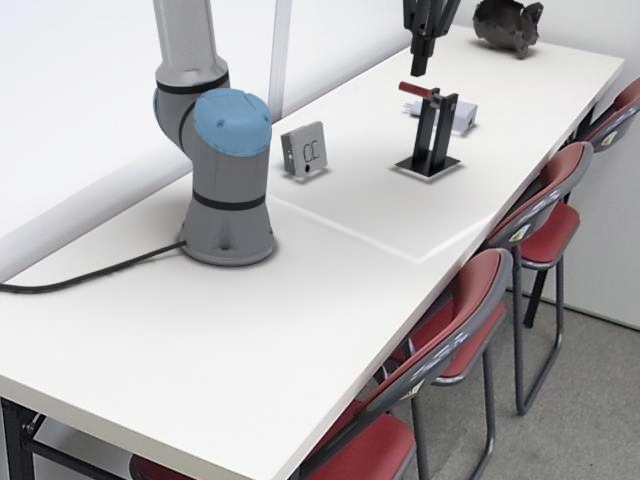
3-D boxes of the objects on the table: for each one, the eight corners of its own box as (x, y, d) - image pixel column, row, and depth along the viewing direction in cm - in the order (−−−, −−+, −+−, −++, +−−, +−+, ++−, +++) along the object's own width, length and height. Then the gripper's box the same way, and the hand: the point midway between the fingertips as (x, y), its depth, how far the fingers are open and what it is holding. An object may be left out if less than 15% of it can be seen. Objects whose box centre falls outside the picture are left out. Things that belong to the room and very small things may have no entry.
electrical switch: (299, 184, 169) (300, 134, 164) (277, 178, 172) (277, 129, 167) (328, 170, 175) (330, 122, 170) (306, 165, 178) (307, 117, 173)
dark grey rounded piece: (544, 48, 250) (476, 36, 259) (554, -8, 240) (483, -19, 249) (524, 64, 241) (455, 51, 250) (533, 6, 232) (461, -5, 241)
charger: (409, 109, 205) (474, 124, 201) (396, 121, 199) (462, 137, 194) (413, 88, 203) (478, 103, 198) (399, 100, 196) (467, 115, 191)
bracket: (428, 182, 174) (443, 105, 165) (393, 169, 178) (406, 94, 169) (460, 166, 181) (476, 92, 172) (426, 154, 185) (439, 80, 176)
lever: (424, 100, 161) (430, 86, 160) (396, 91, 164) (401, 77, 163) (453, 114, 171) (458, 102, 171) (426, 106, 174) (431, 93, 174)
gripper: (490, -69, 146) (460, 80, 160) (421, -83, 152) (398, 61, 166) (466, -64, 141) (438, 89, 155) (396, -79, 147) (375, 69, 162)
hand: (417, 74), depth 161 cm, fingers closed
